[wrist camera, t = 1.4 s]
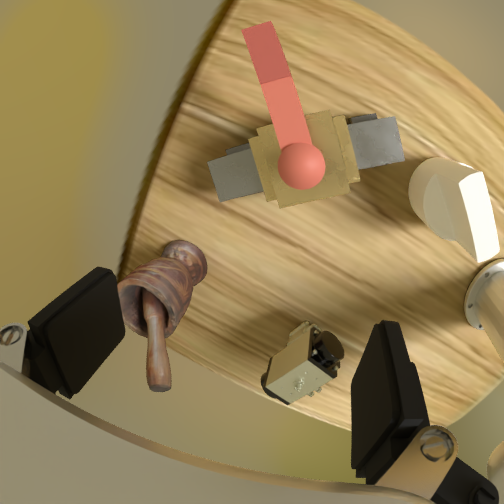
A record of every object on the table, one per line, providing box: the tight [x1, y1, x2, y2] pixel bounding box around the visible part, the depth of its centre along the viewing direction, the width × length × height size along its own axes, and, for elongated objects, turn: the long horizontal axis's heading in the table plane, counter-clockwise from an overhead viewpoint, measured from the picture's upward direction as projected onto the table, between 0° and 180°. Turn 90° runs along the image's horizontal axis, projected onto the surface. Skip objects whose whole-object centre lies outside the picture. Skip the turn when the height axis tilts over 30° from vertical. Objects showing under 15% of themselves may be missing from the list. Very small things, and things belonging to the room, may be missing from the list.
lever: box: [242, 21, 325, 190], centre depth 21 cm, size 14×4×2 cm, turn 17°
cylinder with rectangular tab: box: [408, 157, 500, 262], centre depth 27 cm, size 9×9×12 cm
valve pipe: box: [207, 110, 405, 208], centre depth 29 cm, size 20×8×12 cm, turn 107°
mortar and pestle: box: [117, 240, 207, 392], centre depth 35 cm, size 12×9×20 cm
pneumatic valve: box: [261, 321, 344, 405], centre depth 39 cm, size 6×12×12 cm, turn 141°
